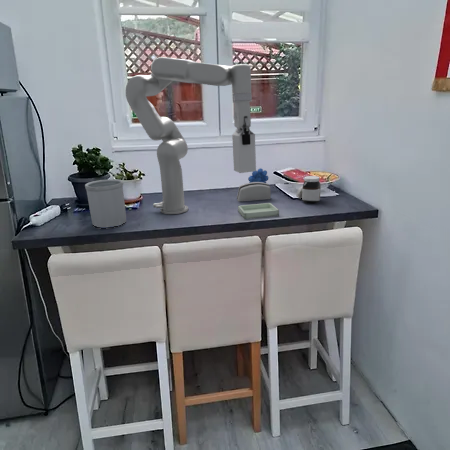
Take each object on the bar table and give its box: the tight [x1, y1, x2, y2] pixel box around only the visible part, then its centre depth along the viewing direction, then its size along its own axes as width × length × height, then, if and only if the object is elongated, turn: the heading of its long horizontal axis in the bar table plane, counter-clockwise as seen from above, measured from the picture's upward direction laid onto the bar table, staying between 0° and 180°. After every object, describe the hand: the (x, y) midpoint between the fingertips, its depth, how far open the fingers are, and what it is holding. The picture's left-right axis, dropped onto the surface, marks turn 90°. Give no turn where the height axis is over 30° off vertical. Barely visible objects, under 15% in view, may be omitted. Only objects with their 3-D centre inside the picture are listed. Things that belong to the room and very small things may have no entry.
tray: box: [237, 202, 280, 220], centre depth 170 cm, size 15×12×2 cm
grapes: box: [248, 167, 270, 183], centre depth 206 cm, size 12×7×12 cm, turn 108°
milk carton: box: [231, 127, 257, 174], centre depth 160 cm, size 7×7×19 cm
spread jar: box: [296, 175, 322, 205], centre depth 184 cm, size 12×11×12 cm
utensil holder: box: [84, 178, 127, 227], centre depth 162 cm, size 15×15×18 cm
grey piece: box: [236, 182, 272, 203], centre depth 190 cm, size 17×5×10 cm, turn 100°
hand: (243, 143), depth 159 cm, fingers closed on milk carton, 7 cm apart
